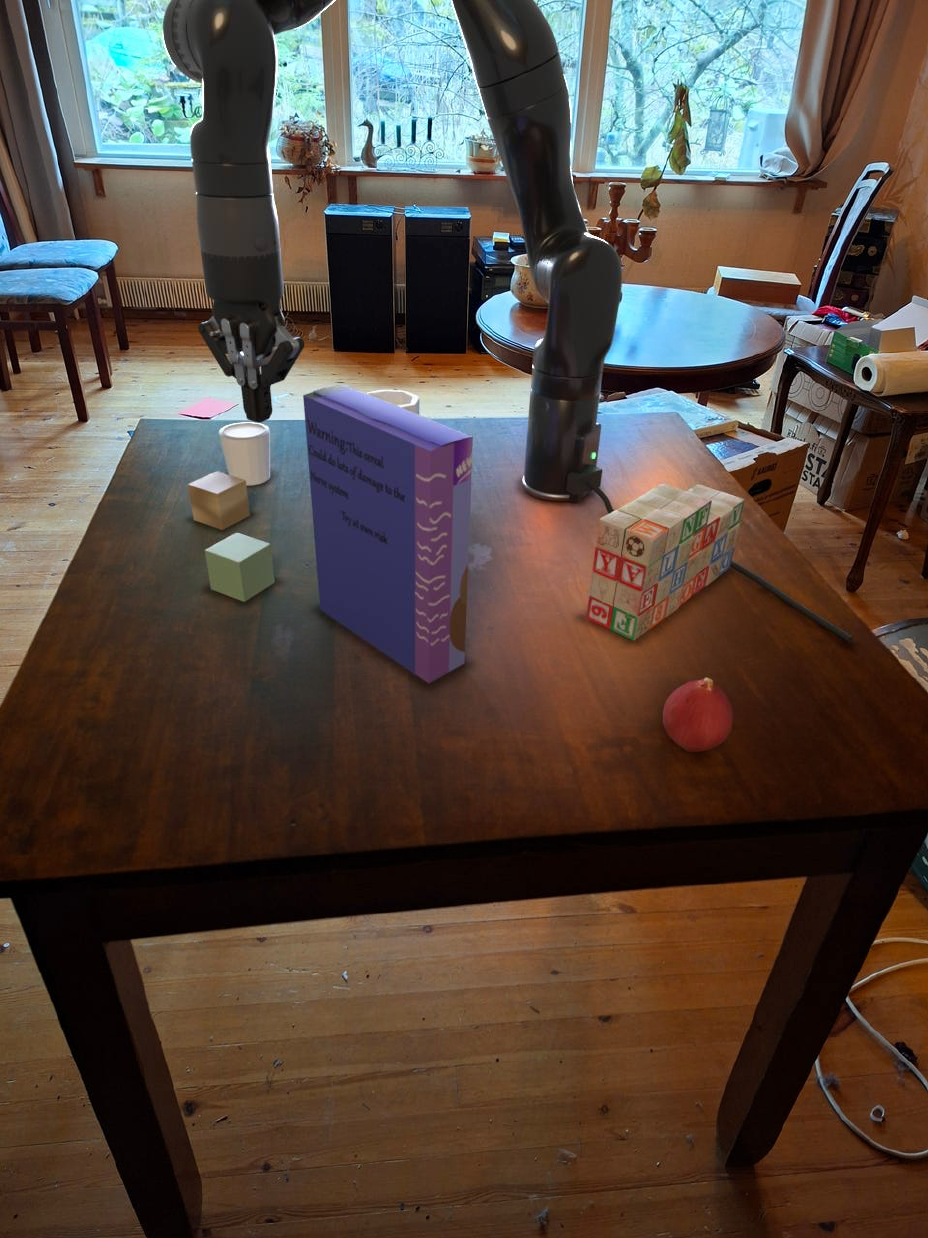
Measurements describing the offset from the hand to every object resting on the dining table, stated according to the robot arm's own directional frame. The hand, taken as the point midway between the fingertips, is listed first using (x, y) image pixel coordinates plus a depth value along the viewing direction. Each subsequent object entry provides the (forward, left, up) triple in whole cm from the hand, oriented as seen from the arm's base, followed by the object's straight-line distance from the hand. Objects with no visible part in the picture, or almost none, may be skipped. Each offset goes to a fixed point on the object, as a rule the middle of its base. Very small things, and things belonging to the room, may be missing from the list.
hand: (258, 419), depth 89 cm
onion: (-53, +6, -17) cm, 56 cm away
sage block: (-1, +7, -17) cm, 18 cm away
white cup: (+18, -16, -17) cm, 30 cm away
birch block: (+13, -4, -17) cm, 22 cm away
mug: (+3, -30, -17) cm, 35 cm away
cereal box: (-21, +6, -17) cm, 28 cm away
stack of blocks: (-42, -18, -17) cm, 49 cm away
